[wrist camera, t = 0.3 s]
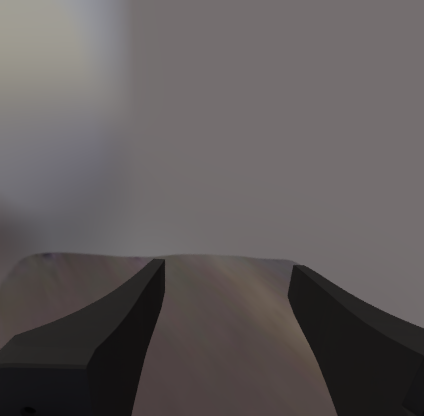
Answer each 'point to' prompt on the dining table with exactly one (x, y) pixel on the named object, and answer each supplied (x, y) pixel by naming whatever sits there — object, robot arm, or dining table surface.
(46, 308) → the dining table surface
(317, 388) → the dining table surface
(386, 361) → the robot arm
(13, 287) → the dining table surface
